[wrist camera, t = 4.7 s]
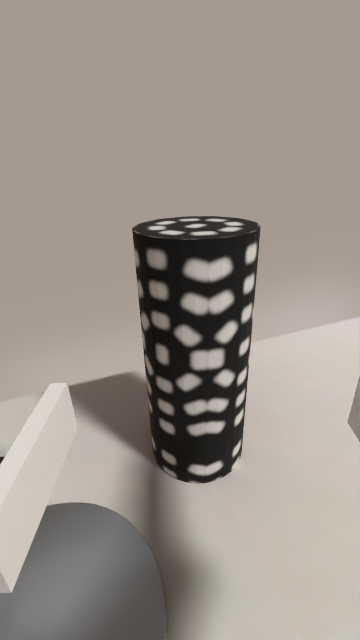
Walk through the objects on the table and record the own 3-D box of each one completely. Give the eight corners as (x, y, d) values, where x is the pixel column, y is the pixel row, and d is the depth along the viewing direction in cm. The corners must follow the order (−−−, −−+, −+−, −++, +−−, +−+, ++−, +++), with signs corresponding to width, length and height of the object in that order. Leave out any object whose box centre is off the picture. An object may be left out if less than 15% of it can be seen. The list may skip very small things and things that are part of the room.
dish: (-196, 769, 14) (-216, 760, 13) (35, 491, 26) (31, 479, 25) (59, 1048, 9) (49, 1055, 9) (198, 555, 21) (198, 542, 20)
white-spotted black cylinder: (187, 401, 35) (182, 213, 26) (256, 435, 30) (280, 221, 21) (134, 451, 29) (105, 230, 20) (210, 502, 24) (217, 246, 15)
